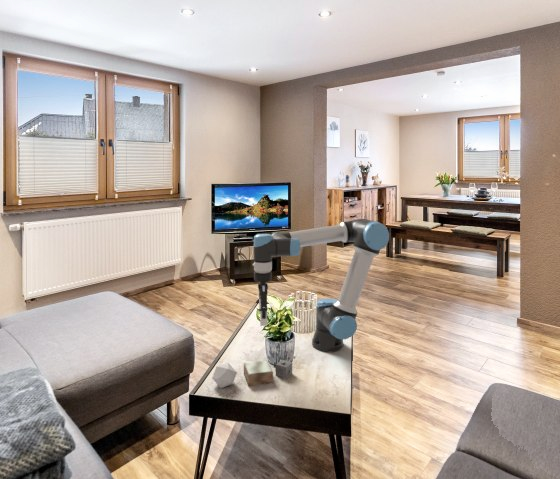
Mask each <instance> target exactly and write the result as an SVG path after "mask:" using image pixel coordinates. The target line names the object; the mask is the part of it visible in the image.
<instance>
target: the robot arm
mask: <svg viewBox="0 0 560 479" xmlns="http://www.w3.org/2000/svg"><path fill="white" fill-rule="evenodd" d="M389 240H390V232H389V230H388V228H387V227H386V225H384V224H383V223H380V222H379V221H375V220H370V219H367V218H356V219H353V220H347V221H342V222H340V223H339V224H336V225H330V226H329V225H327V226H322V227H321V226H320V227H316V228H309V229H302V230H296V231H290V232H282V233H280V232H273V233H272V234H269V233H258V234H255V235H254V236H253V263H252V264H251V265H252V266H253V271H254V272H253V280H254V281H255V282H258V283H257V289H258V298H259V299H258V308H259V309H258V314H259V315H260V318H259V319H260V324H259V326H260V327H262V326H263V327H264V326H265V327H266V326H268V286H269V285H268V283H269V282H271V281H272V279H273V273H272V271H273V270H272V269H273V257H274V258H275V257H277V258H278V257H296V256H299V255H300V253H301V248H302V247H309V246H317V245H322V244H329V243H335V242H342V243H353V246H352V247H353V249H354V252H353V256H352V259H351V261H350V264H349V267H348V270H347V273H346V276H345V278H344V282H343V284H342V287H341V290H340V293H339V296H338V298H321V299H318V300H317V302H316V312H315V313H316V314H315V315H316V316H315V331H314V333H313V336H312V340H311V345H312V347H313V348H314V349H316V350H318V351H322V352H326V353H327V352H337V351H341V350H342V349H343V348H342V347H344V340H347V339H349V338H352V337H353V336H354V335H355V333H356V332H357V331H358V330H357V329H358V323H357V320H356V319H357V318H356V317H357V316H358V309H357V308H356V307H357V305H358V303H359V299H360V297H361V294H362V291H363V288H364V286H365V282H366V280H367V277H368V274H369V272H370V269H371V266H372V264H373V260H374V258H375V257H377V256H379V255H380V252H381V250H383V249H384V248H386V247H387V245H388V243H389ZM341 348H342V349H341Z"/></svg>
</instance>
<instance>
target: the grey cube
mask: <svg viewBox="0 0 560 479" xmlns="http://www.w3.org/2000/svg"><path fill="white" fill-rule="evenodd" d="M292 374H293V362H292V361H289V360H288V361H287V360H284V359H280V360H279V361H278V362H277V363H276V364H275V377H279V378H283V379H285V380H286V379H287V378H289V377H290V376H291V375H292Z"/></svg>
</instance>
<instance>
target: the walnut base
mask: <svg viewBox="0 0 560 479" xmlns="http://www.w3.org/2000/svg"><path fill="white" fill-rule="evenodd" d="M243 375H244V378H245V381H246V385H247V387H253V386H261V385H269V384H273V383H274V371H273V369H272V368H271V365H270V363H269V362H268V360H260V361H253V362H252V361H251V362H245V363H244V362H243Z"/></svg>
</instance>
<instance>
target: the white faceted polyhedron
mask: <svg viewBox="0 0 560 479" xmlns="http://www.w3.org/2000/svg"><path fill="white" fill-rule="evenodd" d="M237 374H238V372H237V371H236V369H235V368H234V366H232V365H231V364H230V362H225V363H222V364H220V365H217V366H216V367H215V369H214V372H213V375H212V378H211V379H212V380H213V381H214V382H215V383H216V384H217V386H218V387H219V388H220V389H222V388H225V387H229V386H232V385H233V383H234V381H235V378H236V377H237Z"/></svg>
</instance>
